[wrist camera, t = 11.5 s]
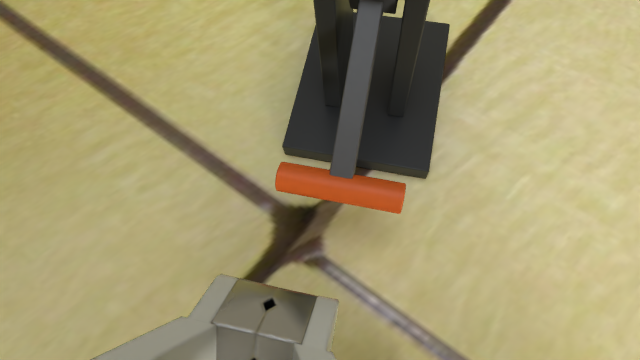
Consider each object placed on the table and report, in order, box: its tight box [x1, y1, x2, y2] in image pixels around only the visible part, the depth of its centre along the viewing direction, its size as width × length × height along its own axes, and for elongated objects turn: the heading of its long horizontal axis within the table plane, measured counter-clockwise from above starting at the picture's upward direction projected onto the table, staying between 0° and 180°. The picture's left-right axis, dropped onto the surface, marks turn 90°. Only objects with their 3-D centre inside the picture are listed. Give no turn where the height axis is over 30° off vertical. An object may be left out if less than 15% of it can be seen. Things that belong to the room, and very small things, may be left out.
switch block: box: [283, 0, 450, 178], centre depth 23 cm, size 11×9×12 cm
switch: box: [275, 0, 406, 214], centre depth 20 cm, size 12×6×2 cm, turn 167°
